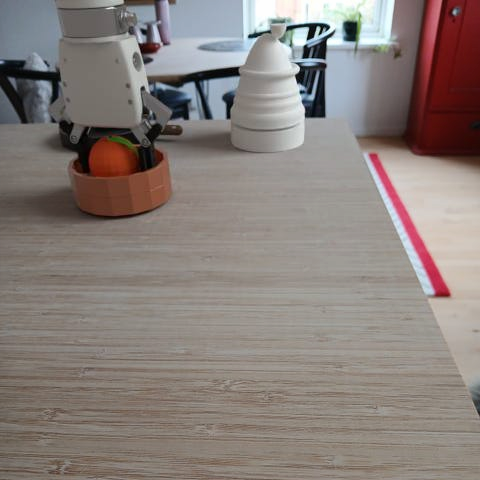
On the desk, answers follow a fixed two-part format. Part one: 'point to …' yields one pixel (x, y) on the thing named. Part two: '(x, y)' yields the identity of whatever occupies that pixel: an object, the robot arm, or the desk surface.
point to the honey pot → (268, 99)
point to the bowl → (121, 189)
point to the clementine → (113, 157)
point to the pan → (116, 134)
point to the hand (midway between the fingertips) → (119, 170)
